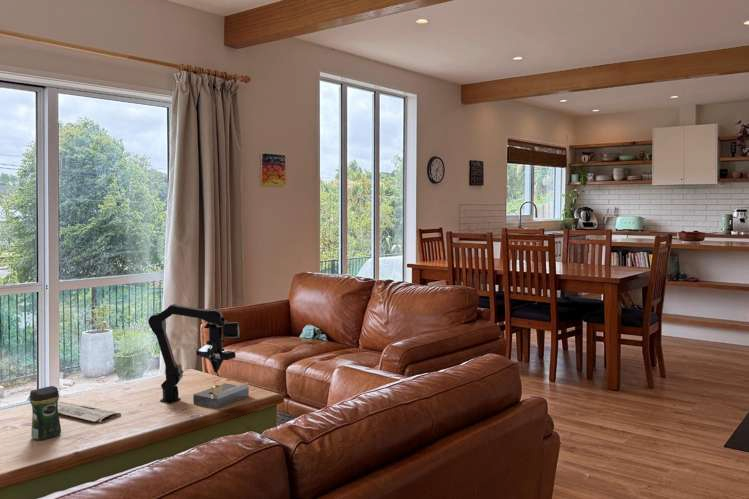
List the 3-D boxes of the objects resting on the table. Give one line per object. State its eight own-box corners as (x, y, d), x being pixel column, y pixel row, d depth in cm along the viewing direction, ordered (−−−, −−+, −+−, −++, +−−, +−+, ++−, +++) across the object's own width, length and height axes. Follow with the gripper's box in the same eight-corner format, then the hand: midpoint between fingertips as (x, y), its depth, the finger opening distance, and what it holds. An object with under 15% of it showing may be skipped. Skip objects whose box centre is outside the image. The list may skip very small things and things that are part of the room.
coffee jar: (54, 430, 246) (52, 383, 245) (64, 435, 241) (62, 386, 240) (28, 437, 239) (26, 388, 237) (37, 442, 234) (35, 392, 232)
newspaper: (121, 416, 263) (120, 408, 263) (96, 426, 252) (96, 417, 252) (61, 405, 278) (61, 397, 278) (35, 413, 267) (35, 405, 267)
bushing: (209, 402, 281) (209, 386, 280) (216, 399, 285) (216, 383, 284) (217, 403, 279) (216, 387, 278) (224, 401, 282) (223, 385, 282)
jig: (193, 403, 279) (193, 389, 279) (225, 391, 296) (225, 378, 296) (217, 408, 272) (217, 394, 272) (248, 396, 290) (248, 383, 289)
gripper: (186, 338, 281) (187, 373, 282) (217, 343, 271) (218, 379, 272) (205, 334, 290) (206, 368, 291) (236, 338, 281) (236, 373, 282)
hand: (216, 372), depth 284 cm, fingers closed
